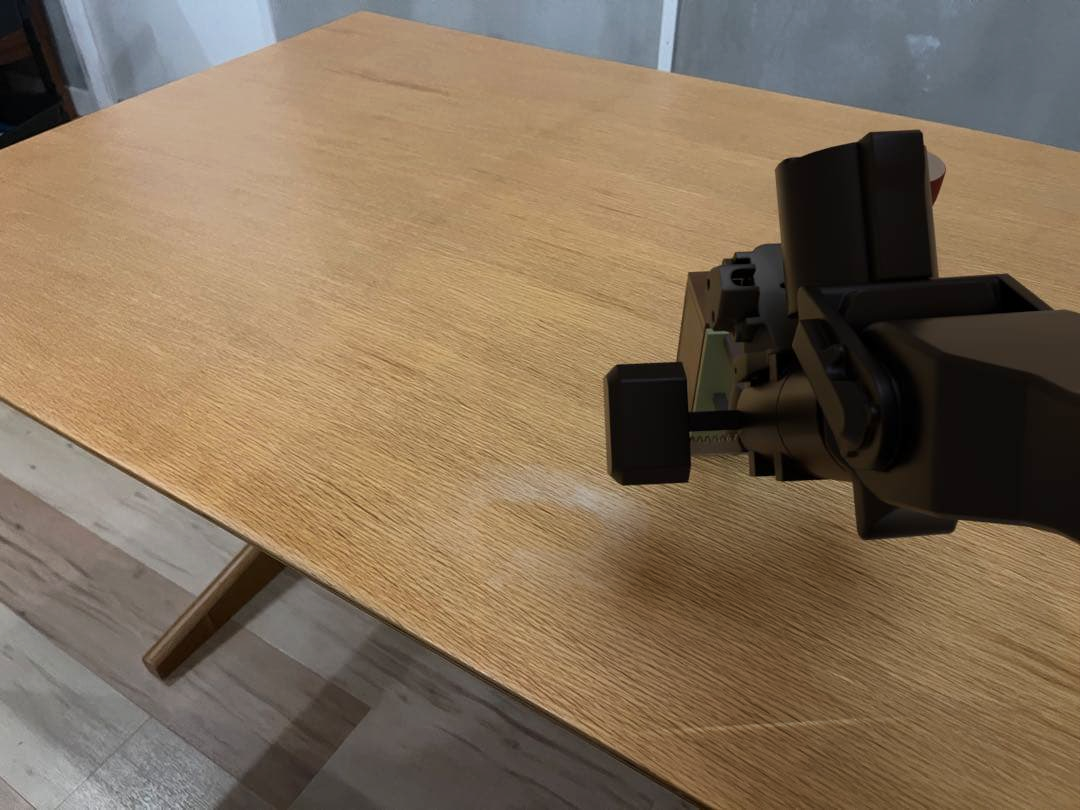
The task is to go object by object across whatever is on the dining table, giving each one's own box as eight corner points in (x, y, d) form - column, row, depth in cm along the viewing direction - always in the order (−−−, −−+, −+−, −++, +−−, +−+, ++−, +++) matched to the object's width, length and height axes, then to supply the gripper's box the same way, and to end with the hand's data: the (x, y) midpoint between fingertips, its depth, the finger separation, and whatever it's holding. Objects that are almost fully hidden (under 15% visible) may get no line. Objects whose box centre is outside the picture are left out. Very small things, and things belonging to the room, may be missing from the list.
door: (805, 500, 56) (842, 383, 49) (703, 505, 56) (726, 388, 49) (781, 439, 60) (812, 323, 53) (687, 443, 60) (705, 328, 53)
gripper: (1041, 221, 36) (881, 286, 52) (617, 236, 35) (585, 297, 51) (1057, 476, 36) (892, 463, 51) (629, 496, 35) (594, 477, 51)
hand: (741, 420), depth 51 cm, fingers open, 9 cm apart
